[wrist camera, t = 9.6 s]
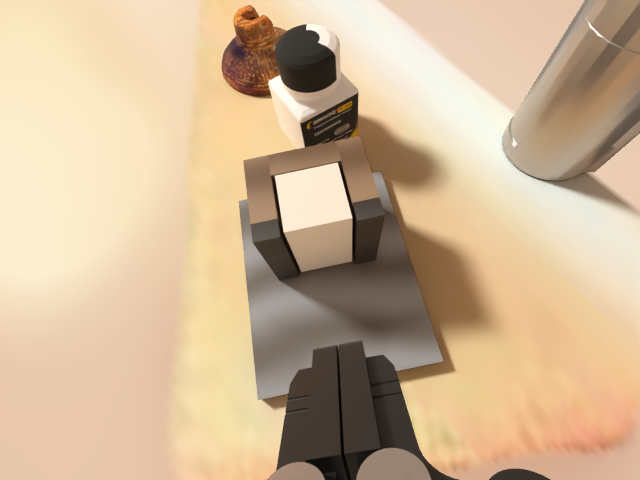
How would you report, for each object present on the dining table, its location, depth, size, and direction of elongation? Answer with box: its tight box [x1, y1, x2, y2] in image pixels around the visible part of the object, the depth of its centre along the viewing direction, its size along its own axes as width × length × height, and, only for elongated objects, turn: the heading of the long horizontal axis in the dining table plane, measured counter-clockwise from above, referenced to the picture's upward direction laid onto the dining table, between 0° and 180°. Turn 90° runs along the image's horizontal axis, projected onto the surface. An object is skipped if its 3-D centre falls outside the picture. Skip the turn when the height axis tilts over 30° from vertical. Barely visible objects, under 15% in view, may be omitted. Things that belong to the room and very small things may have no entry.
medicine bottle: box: [268, 24, 358, 149], centre depth 34 cm, size 7×7×12 cm
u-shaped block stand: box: [239, 136, 443, 400], centre depth 27 cm, size 20×16×10 cm
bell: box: [222, 5, 287, 96], centre depth 43 cm, size 12×12×7 cm
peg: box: [275, 163, 352, 272], centre depth 28 cm, size 5×5×9 cm
